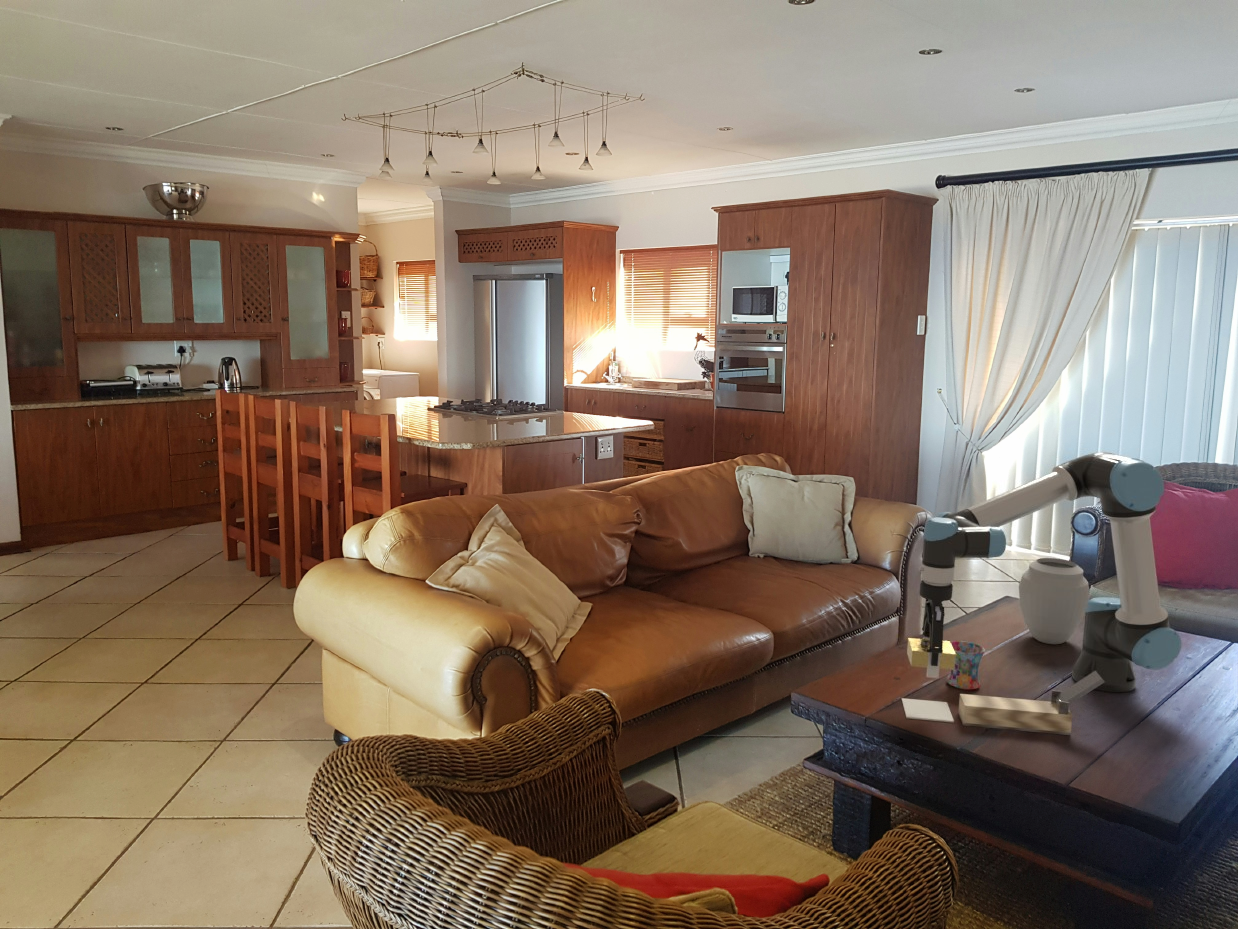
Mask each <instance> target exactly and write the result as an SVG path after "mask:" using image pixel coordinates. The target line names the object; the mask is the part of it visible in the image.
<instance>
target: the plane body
mask: <svg viewBox="0 0 1238 929" xmlns="http://www.w3.org/2000/svg"><path fill="white" fill-rule="evenodd" d="M1060 693H1062V690H1054V689H1052V690H1051V697H1050V701H1048V700H1047V701H1046V700H1038V699H1037V700H1035V699H1025V698H1015V697H1014V698H1013V697H1010V698H1009V697H1001V696H1000V697H999V696H989V695H979V694H978V695H977V694H966V693H959V699H958V700H959V701H958V710H957V711H958V712H957V713H958V715H959V718H960V721H961V723H962V725H963V726H967V727H968V726H969V727H978V728H979V727H981V728H989V729H991V728H992V729H1001V730H1011V731H1020V732H1021V731H1023V732H1031V733H1042V734H1044V733H1045V734H1055V735H1066V736H1071V732H1072V725H1073V714H1072V712H1071V711H1070V709H1069V706H1070V705H1069V702H1063V701H1059V705H1058V703H1057V702H1056V700H1055V699H1054V696H1056V695H1059V694H1060Z"/></svg>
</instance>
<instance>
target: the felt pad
mask: <svg viewBox="0 0 1238 929" xmlns="http://www.w3.org/2000/svg"><path fill="white" fill-rule="evenodd" d="M901 701H902V702H901V703H902V706H903V710H904V714H905V717H906V719H912V720H923V721H933V722H934V721H935V722H945V723H955V720H954V718H953V715H952V713H951V709H950V707H949V704H948V701H947V702H946V701H939V700H938V701H937V700H928V699H927V700H925V699H915V698H904V697H901Z"/></svg>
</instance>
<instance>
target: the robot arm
mask: <svg viewBox="0 0 1238 929" xmlns="http://www.w3.org/2000/svg"><path fill="white" fill-rule="evenodd" d="M1164 483H1165V482H1164V479H1163V476H1162V474H1161V472H1160V471H1159V470H1158V469H1157V468H1156V467H1155V466H1154V465H1153V464H1150V463H1149V462H1146V461H1145V460H1141V459H1139V458H1135V457H1134V458H1133V457H1127V456H1124V455H1119V454H1115V453H1111V452H1105V451H1104V452H1103V451H1102V452H1101V451H1100V452H1093V453H1089V454H1088V453H1087V454H1085V455H1082V456H1078V457H1076V458H1074V459H1071V460H1068V461H1066V462H1063V463H1061V464H1059V465H1056V466H1054V467H1053V468H1052V470H1051V472H1050V473H1048V474H1045V475H1043V476H1040V477H1038V478H1036V479H1033V480H1031V481H1029V482H1026V483H1023V484H1022V485H1019V486H1017V487H1014V488H1012V489H1010V490H1008V491H1005V492H1003V493H1002V492H1001V493H1000V494H997V495H995V496H993V497H990V498H989V499H987V500H984V501H981V502H980V503H979V502H978V503H977V504H974V505H972V506H969V507H968V508H965V509H963V510H960V511H957V512H951V511H942V512H941V513H938V514H937V515H936V516H934V517H930V518H928V519H927V520H926V521H925V525H924V529H923V536H922V537H923V538H922V539H923V542H922V556H921V557H922V558H921V559H922V560H921V566H919V567H918V571H920V572H921V573H920V579H921V580H920V581H919V597H921V598H924V599H925V602H924V611H923V612H924V614H923V622H922V628H921V630H922V635H923V637H922V639H928V640H930V649H927V650H926V651H927V652H928V663H927V668H926V678H932V679H939V678H940V669H939V667H940V654H941V653H942V652H943V650H942V648H943V641H944V620H945V615H946V614H945V606H943V605H944V604H943V603H944V602H945V601H946V602H947V601H949V600H951V599H952V598H953V587H954V585H953V582H954V579H955V578H954V577H955V567H956V566H955V563H956V559H984V558H985V559H992V558H1000V557H1002V555H1003V554H1004V553H1005V551H1006V548H1007V547H1006V546H1007V537H1006V534H1005V531H1004V530H1003V529H1002V528H1001V527H1002V526H1004V525H1007V524H1009V523H1012V522H1014V521H1016V520H1019V519H1022V518H1023V517H1026V516H1028V515H1031V514H1033V513H1037V512H1038V511H1041V510H1044V509H1046V508H1047V507H1050V506H1052V505H1054V504H1057V503H1059V502H1062V501H1065V500H1067V501H1070V502H1072V501H1076V500H1077V499H1081V498H1086V497H1093V498H1097V499H1099V500H1100V506H1101V512H1102V515H1103V516H1104V517H1106V518H1107V519H1108V520H1109V522H1110V530H1111V531H1110V532H1111V538H1112V546H1113V553H1114V554H1113V555H1114V561H1115V570H1116V577H1117V587H1118V594H1119V598H1118V597H1107V596H1105V597H1104V596H1103V597H1098V596H1097V597H1092V598H1089V601H1088V603H1087V607H1086V611H1085V615H1084V627H1083V635H1082V636H1083V637H1082V646H1081V647H1082V648H1081V651H1080V652H1079V655H1078V657H1077V659H1076V661H1075V663H1074V665H1073V668H1072V675H1071V677H1072V679H1073V680H1074V681H1075V682H1076V683H1077V682H1079V681H1080V680H1082V679H1083V678H1085V677H1086V676H1088V675H1089V674H1091V673H1092V672H1094V671H1096V672H1097V673H1098V674H1099V675H1100V677H1101V678H1102V679H1103V680H1104V681H1105V682H1104V683H1103V684H1101V685H1099V686H1098V687H1096V688H1095V689H1094V690H1098V691H1103V692H1107V693H1108V692H1109V693H1129V692H1131V691H1134V690H1135V688H1136V683H1137V680H1136V675H1135V671H1134V667H1133V664H1135V665H1137V666H1139V667H1142V668H1144V669H1146V670H1150V671H1160V670H1162V669H1165V668H1167V667H1169V666H1170V665H1172V664H1173V663H1174V662H1175V660H1176V659H1177V658H1178V657H1179V655H1180V653H1181V650H1182V644H1183V643H1182V638H1181V636H1180V634H1179V633H1178V632H1177V631H1176V630H1175V629H1173V628H1171V626H1170V620H1169V613H1168V611H1167V610H1166V609H1165V608H1163V607H1162V606H1161V605H1160V604H1161V602H1160V593H1159V587H1158V586H1159V585H1158V576H1157V569H1156V559H1155V553H1154V552H1155V551H1154V543H1153V535H1152V527H1151V517H1152V516H1153V515H1154V513H1155V512H1156V511H1157V508H1156V506H1157V505H1158V504H1159V502H1161V500H1160V498H1161V497H1163V495H1164V490H1165V489H1164V488H1165V484H1164ZM935 647H938V648H935Z"/></svg>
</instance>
